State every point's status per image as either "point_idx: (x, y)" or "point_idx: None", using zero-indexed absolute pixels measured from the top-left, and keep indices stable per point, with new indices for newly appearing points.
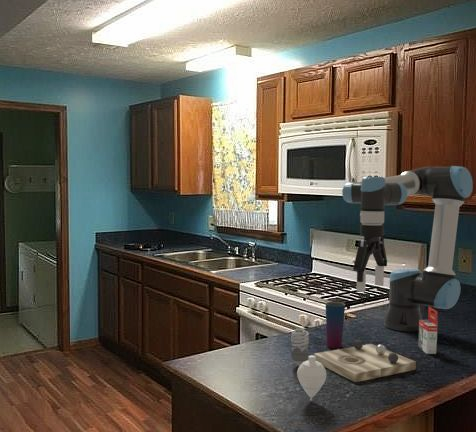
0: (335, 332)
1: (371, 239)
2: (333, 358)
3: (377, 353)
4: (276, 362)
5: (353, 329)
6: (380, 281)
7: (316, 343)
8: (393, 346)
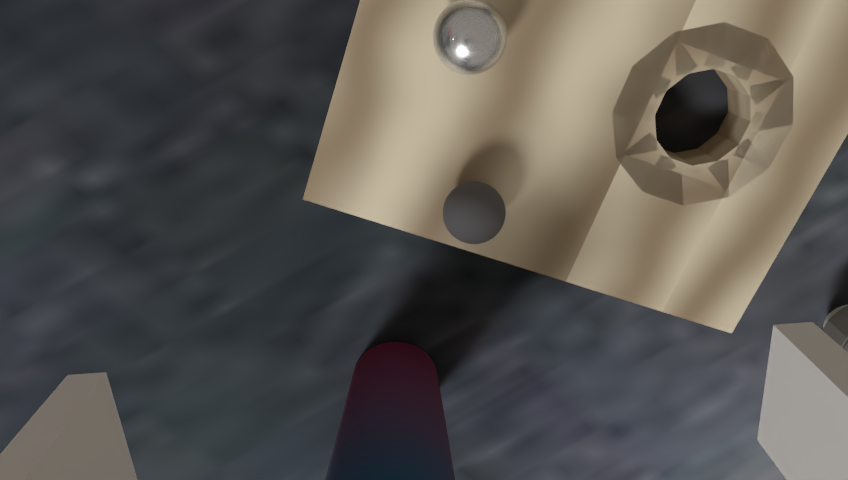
0: (435, 409)
1: None
2: (746, 211)
3: None
4: None
5: None
6: (83, 452)
7: None
8: (104, 129)
